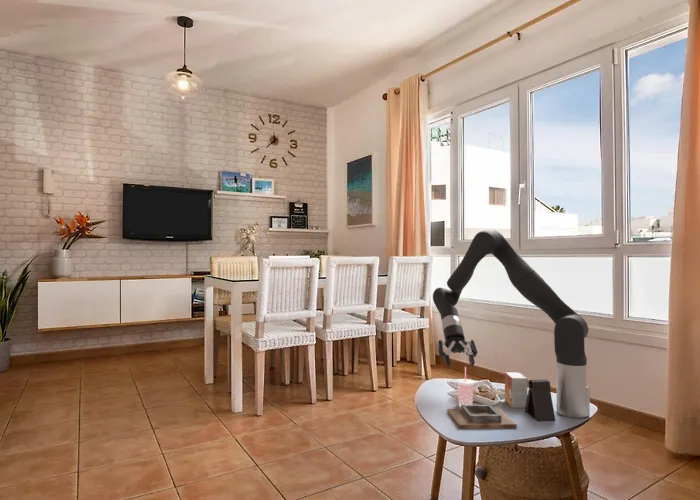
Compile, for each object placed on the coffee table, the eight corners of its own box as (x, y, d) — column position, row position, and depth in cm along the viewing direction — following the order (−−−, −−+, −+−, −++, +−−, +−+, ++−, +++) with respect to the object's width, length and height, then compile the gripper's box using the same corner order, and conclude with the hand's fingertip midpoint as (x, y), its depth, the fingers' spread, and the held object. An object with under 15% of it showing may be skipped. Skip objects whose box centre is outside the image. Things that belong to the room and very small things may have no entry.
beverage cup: (458, 402, 160) (458, 364, 160) (475, 404, 157) (475, 365, 157) (455, 407, 154) (455, 367, 154) (472, 410, 151) (472, 369, 152)
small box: (504, 400, 162) (504, 371, 162) (519, 400, 162) (519, 372, 162) (511, 407, 154) (511, 377, 154) (527, 408, 154) (527, 378, 154)
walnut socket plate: (499, 412, 150) (499, 402, 150) (516, 428, 136) (516, 417, 136) (447, 412, 149) (447, 403, 149) (459, 428, 135) (459, 418, 135)
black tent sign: (555, 421, 142) (555, 384, 142) (537, 421, 141) (537, 384, 142) (541, 411, 151) (541, 376, 151) (524, 411, 150) (524, 376, 151)
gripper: (436, 323, 171) (443, 360, 159) (472, 323, 171) (482, 360, 159) (433, 335, 176) (440, 371, 164) (468, 334, 176) (477, 370, 165)
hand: (460, 365), depth 162 cm, fingers open, 8 cm apart
